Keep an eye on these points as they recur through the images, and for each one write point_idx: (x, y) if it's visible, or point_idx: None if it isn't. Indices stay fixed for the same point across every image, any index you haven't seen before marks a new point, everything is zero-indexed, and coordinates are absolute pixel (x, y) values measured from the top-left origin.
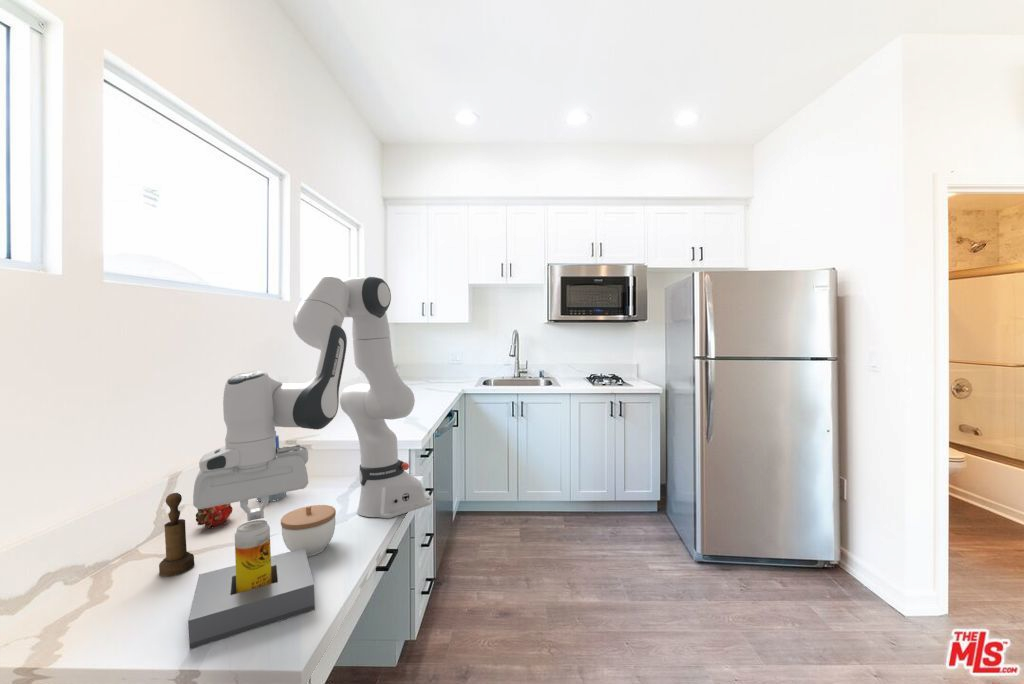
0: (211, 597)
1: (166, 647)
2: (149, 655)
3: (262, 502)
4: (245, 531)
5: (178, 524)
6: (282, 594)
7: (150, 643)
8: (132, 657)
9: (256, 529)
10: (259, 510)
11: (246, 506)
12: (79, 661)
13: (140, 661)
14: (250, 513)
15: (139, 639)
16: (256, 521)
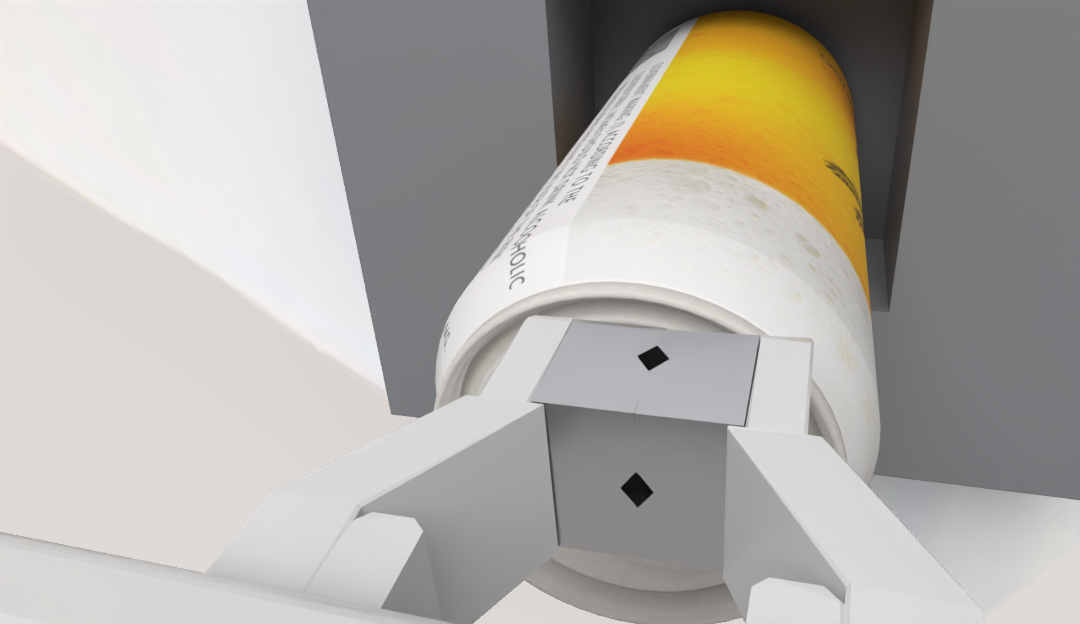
0: (452, 237)
1: (346, 249)
2: (297, 267)
3: (788, 534)
4: (554, 590)
5: None
6: (886, 470)
7: (261, 168)
8: (233, 238)
9: (683, 619)
10: (717, 564)
11: (441, 592)
12: (31, 132)
13: (279, 288)
14: (559, 532)
15: (193, 95)
16: (689, 318)
